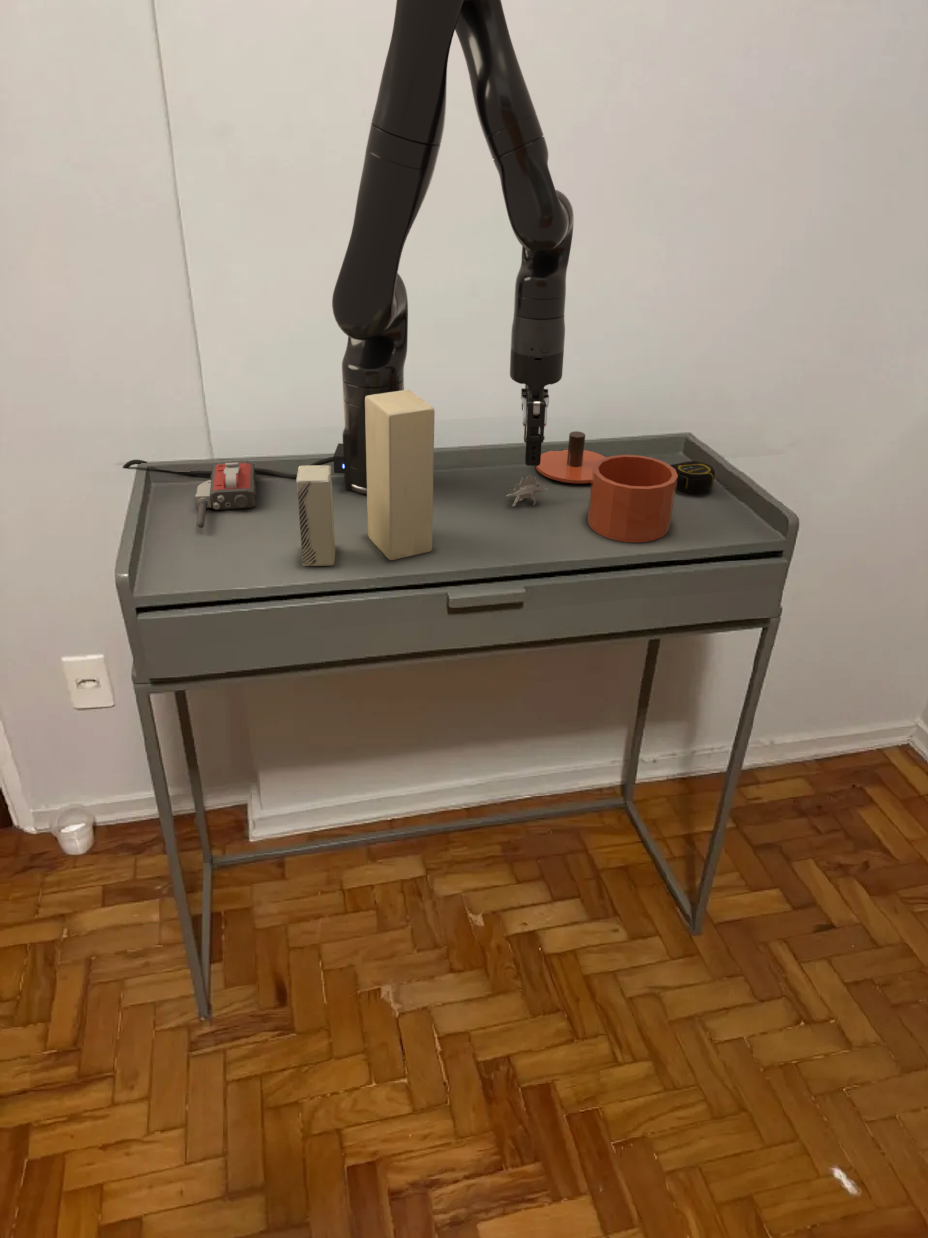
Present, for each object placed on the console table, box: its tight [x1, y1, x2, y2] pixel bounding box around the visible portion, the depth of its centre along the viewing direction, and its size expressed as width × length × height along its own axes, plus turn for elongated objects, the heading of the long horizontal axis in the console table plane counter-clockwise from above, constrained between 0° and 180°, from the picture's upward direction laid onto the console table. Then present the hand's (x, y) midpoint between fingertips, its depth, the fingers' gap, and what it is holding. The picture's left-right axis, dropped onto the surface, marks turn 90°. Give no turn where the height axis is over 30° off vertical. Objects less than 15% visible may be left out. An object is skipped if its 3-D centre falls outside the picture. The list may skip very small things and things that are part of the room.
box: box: [296, 464, 336, 567], centre depth 125 cm, size 5×4×13 cm
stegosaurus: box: [506, 474, 549, 507], centre depth 143 cm, size 2×7×5 cm, turn 109°
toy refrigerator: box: [365, 389, 436, 561], centre depth 126 cm, size 8×7×21 cm
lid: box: [535, 430, 607, 484], centre depth 153 cm, size 13×13×6 cm
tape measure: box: [669, 460, 716, 493], centre depth 149 cm, size 7×7×4 cm
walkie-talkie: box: [194, 460, 257, 529], centre depth 141 cm, size 9×4×20 cm
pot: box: [587, 454, 678, 543], centre depth 137 cm, size 12×12×8 cm
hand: (531, 453), depth 140 cm, fingers open, 8 cm apart
